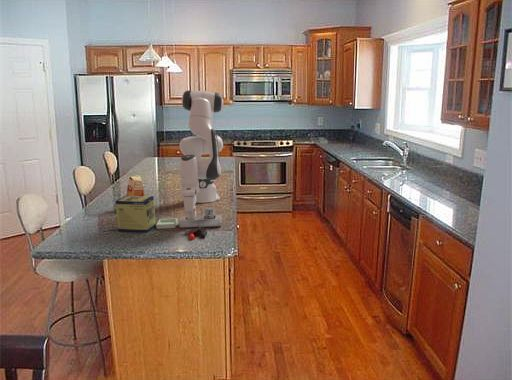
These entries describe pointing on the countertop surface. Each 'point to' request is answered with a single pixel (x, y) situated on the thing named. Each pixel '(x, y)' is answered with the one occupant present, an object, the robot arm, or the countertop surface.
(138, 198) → the protein box
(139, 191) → the milk carton
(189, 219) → the plug
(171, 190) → the countertop surface
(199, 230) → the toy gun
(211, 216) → the grey box with openings
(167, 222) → the tray
